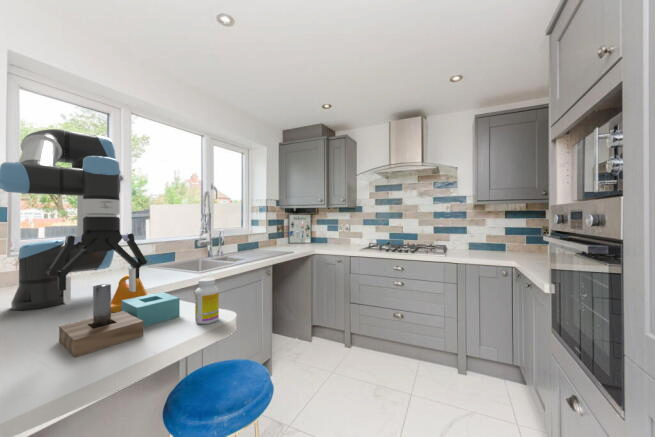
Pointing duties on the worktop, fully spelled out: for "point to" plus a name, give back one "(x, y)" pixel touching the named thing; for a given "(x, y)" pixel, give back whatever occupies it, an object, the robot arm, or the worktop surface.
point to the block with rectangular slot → (152, 307)
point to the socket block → (99, 333)
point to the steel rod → (101, 305)
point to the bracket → (126, 293)
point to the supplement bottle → (206, 302)
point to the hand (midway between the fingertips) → (102, 296)
